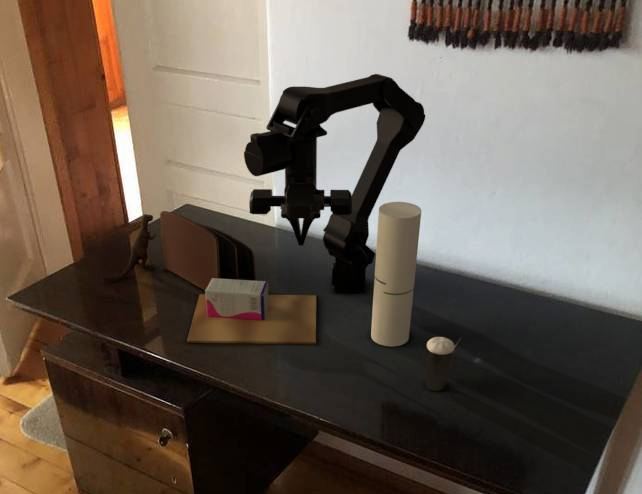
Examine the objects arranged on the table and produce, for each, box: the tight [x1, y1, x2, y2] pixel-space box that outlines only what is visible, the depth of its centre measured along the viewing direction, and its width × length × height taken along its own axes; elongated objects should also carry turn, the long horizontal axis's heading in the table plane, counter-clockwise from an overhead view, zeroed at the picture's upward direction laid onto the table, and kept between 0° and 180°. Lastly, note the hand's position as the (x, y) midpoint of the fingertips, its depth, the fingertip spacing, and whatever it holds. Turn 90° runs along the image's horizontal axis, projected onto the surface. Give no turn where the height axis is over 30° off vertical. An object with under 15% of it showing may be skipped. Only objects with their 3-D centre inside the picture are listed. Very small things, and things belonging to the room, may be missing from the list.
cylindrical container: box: [370, 201, 422, 348], centre depth 131 cm, size 7×7×25 cm
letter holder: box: [159, 210, 257, 291], centre depth 153 cm, size 10×20×14 cm, turn 43°
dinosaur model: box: [101, 213, 157, 282], centre depth 156 cm, size 4×12×15 cm
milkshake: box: [425, 336, 462, 392], centre depth 123 cm, size 4×5×10 cm
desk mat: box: [186, 293, 317, 345], centre depth 144 cm, size 24×18×1 cm
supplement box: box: [204, 278, 269, 320], centre depth 143 cm, size 6×6×12 cm
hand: (301, 244), depth 141 cm, fingers closed
